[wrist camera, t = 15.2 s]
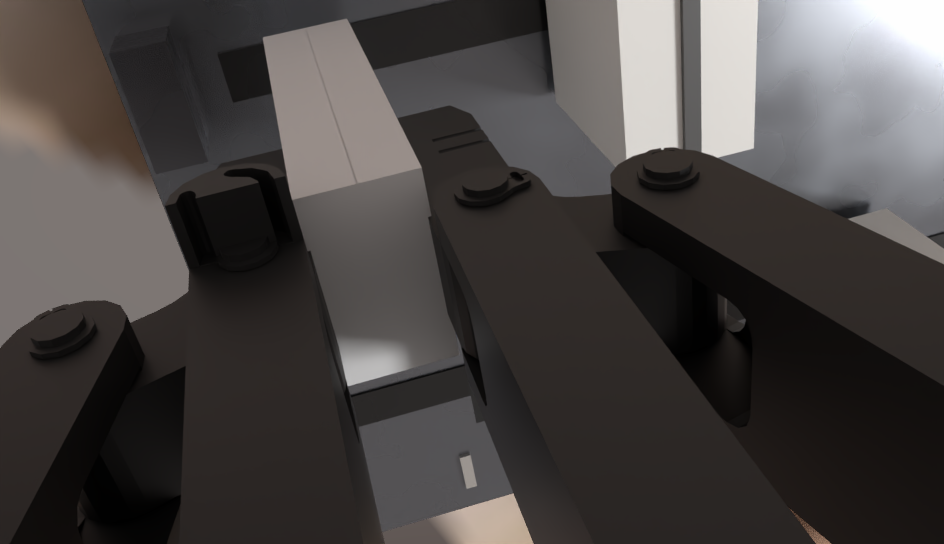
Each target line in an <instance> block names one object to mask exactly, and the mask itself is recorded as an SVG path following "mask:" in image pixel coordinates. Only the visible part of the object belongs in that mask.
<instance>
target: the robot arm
mask: <svg viewBox="0 0 944 544" xmlns="http://www.w3.org/2000/svg"><path fill="white" fill-rule="evenodd" d="M263 43H264V48H265V54H266V60H267V65H268V71H269V77H270V82H271V88H272V94H273V99H274V105H275V110H276V116H277V122H278V127H279V133H280V139H281V144H282V149H279V150H275V151H270V152H266V153H262V154H258V155H254V156H250V157H246V158H242V159H238V160H233V161H229V162H225V163H221V164H220V165H219V166H218V168H217V169H216V170H213V171H210V172H207V173H204V174H201V175H199V176H197V177H196V178H194V179H192V180H190V181H188V182H186V183H184V184H182V185H181V186H180V187H179V188H178V189H176V190H175V191H174V192H173V193H172V194H171V195H170V196H169V198H168V200H167V202H166V204H165V209H166V211H167V214H168V216H169V219H170V221H171V224H172V227H173V229H174V232H175V234H176V237H177V239H178V242H179V245H180V247H181V250H182V252H183V255H184V257H185V260H186V262H187V265H188V268H189V291H188V292H187V293H186V294H185V295H183V296H182V297H180V298H179V299H178V300H176V301H175V302H173V303H172V304H170V305H168V306H166V307H164V308H162V309H160V310H158V311H156V312H154V313H152V314H149V315H147V316H145V317H143V318H141V319H138V320H136V321H134V322H132V323H130V322H129V320H128V317H127V315H126V314H125V312H124V311H123V309H122V308H121V306H120V305H117V304H114V303H111V302H108V301H83V302H79V303H75V304H71V305H68V304H66V305H62V306H59V307H56V308H53V311H49V310H48V311H46V312H44V313H42V314H40V315H38V316H36V318H34V320H32V321H31V322H29V323H28V324H26V325H25V326H23V327H22V328H20V329H18V330H17V331H16V332H15V333H14V334H13V335H12V336H11V337H10V338H9V339H8V340H7V341H6V342H5V343H4V344H3V345H2V347H1V348H0V544H385V543H384V538H383V534H382V529H381V525H380V520H379V516H378V511H377V507H376V502H375V498H374V493H373V489H372V484H371V480H370V475H369V471H368V466H367V462H366V457H365V453H364V448H363V444H362V439H361V435H360V430H359V426H358V421H357V417H356V412H355V408H354V405H353V402H352V398H351V395H350V392H349V388H348V386H351V385H355V384H358V383H362V382H365V381H369V380H372V379H376V378H379V377H383V376H386V375H390V374H394V373H397V372H401V371H404V370H408V369H411V368H415V367H418V366H422V365H425V364H429V363H433V362H436V361H440V360H443V359H447V358H450V357H454V356H457V355H460V354H459V349H458V344H457V339H456V335H457V337H458V340H459V342H460V344H461V349H462V354H463V359H464V364H465V369H466V374H467V379H468V384H469V389H470V394H471V399H472V404H473V409H474V414H475V419H476V423H479V422H483V421H485V423H486V426H487V428H488V431H489V433H490V436H491V438H492V441H493V443H494V446H495V448H496V451H497V453H498V456H499V458H500V461H501V463H502V466H503V468H504V471H505V473H506V476H507V478H508V481H509V483H510V486H511V488H512V491H513V493H514V496H515V498H516V501H517V503H518V506H519V508H520V511H521V513H522V516H523V518H524V520H525V523H526V525H527V528H528V530H529V533H530V535H531V538H532V540H533V543H534V544H816V543H815V542H814V541H813V539H812V538H811V537H810V535H809V534H808V533H807V531H806V530H805V529H804V527H803V526H802V525H801V524H800V522H799V521H798V520H797V518H796V517H795V516H794V514H793V513H792V512H791V510H793V511H794V512H795V513H796V514H797V515H798V516H800V517H801V518H802V519H803V520H804V521H806V522H807V523H808V524H809V525H810V526H811V527H813V528H814V529H815V530H816V531H817V532H819V533H820V534H821V535H822V536H823V537H824V538H826V539H827V540H828V541H829V542H830V543H832V544H944V264H942V263H940V262H938V261H936V260H934V259H932V258H929V257H927V256H925V255H923V254H921V253H919V252H917V251H915V250H912V249H910V248H908V247H906V246H904V245H902V244H900V243H898V242H895V241H893V240H891V239H889V238H887V237H885V236H883V235H881V234H878V233H876V232H874V231H872V230H870V229H868V228H866V227H864V226H861V225H859V224H857V223H855V222H853V221H851V220H849V219H847V218H844V217H842V216H840V215H838V214H836V213H834V212H832V211H830V210H827V209H825V208H823V207H821V206H819V205H817V204H815V203H813V202H810V201H808V200H806V199H804V198H802V197H800V196H798V195H796V194H793V193H791V192H789V191H787V190H785V189H783V188H781V187H778V186H776V185H774V184H772V183H770V182H768V181H766V180H764V179H761V178H759V177H757V176H755V175H753V174H751V173H749V172H747V171H744V170H742V169H740V168H738V167H736V166H734V165H732V164H730V163H727V162H725V161H723V160H721V159H719V158H717V157H715V156H712V155H709V154H706V153H702V152H699V151H696V150H685V149H679V148H676V147H669V148H664V150H661V148H658V149H652V150H649V151H647V152H646V153H642V154H638V155H635V156H632V157H630V158H628V159H627V160H625V161H623V162H621V163H619V164H618V165H617V166H616V168H615V169H614V170H613V171H612V173H611V174H610V179H611V193H612V194H605V195H593V196H581V197H560V196H553V195H552V194H551V193H550V191H549V190H548V189H547V187H546V186H545V185H544V183H543V182H542V181H541V179H540V178H539V177H537V176H536V175H534V174H533V173H532V172H530V171H528V170H524V169H520V168H517V167H509V166H508V165H507V164H506V162H505V161H504V159H503V158H502V157H501V155H500V154H499V152H498V151H497V149H496V148H495V147H494V145H493V144H492V142H491V141H489V138H488V137H487V135H486V134H485V133H484V131H483V130H481V127H480V126H479V124H478V123H477V121H476V120H475V118H474V117H473V116H472V114H470V113H468V112H465V111H463V110H460V109H458V108H455V107H453V106H450V105H449V106H445V107H440V108H436V109H432V110H428V111H424V112H420V113H416V114H412V115H408V116H403V117H399V118H397V117H396V115H395V113H394V111H393V109H392V107H391V105H390V103H389V101H388V99H387V97H386V95H385V93H384V91H383V89H382V87H381V85H380V83H379V81H378V79H377V77H376V75H375V73H374V71H373V69H372V67H371V65H370V63H369V61H368V59H367V57H366V55H365V53H364V51H363V49H362V47H361V45H360V43H359V41H358V39H357V37H356V35H355V33H354V31H353V29H352V27H351V26H350V24H349V22H348V20H347V19H342V20H338V21H334V22H329V23H325V24H320V25H316V26H311V27H307V28H303V29H298V30H294V31H289V32H285V33H280V34H276V35H272V36H267V37H263ZM727 300H729V301H730V302H731V303H732V304H733V305H734V306H736V307H737V308H738V310H739V311H740V313H741V314H742V315H743V317H744V318H745V320H746V321H745V324H743V323H741V322H739V321H737V320H736V319H734V318H733V317H731V316H730V315H728V314H727ZM455 332H456V335H455ZM788 507H789V508H790V509H791V510H790V509H789V508H788Z"/></svg>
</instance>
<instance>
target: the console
mask: <svg viewBox="0 0 944 544" xmlns="http://www.w3.org/2000/svg"><path fill="white" fill-rule="evenodd" d="M82 1H83V4H84V6H85V9H86V12H87V14H88V17H89V19H90V22H91V24H92V27H93V29H94V32H95V34H96V37H97V39H98V42H99V44H100V47H101V49H102V52H103V55H104V57H105V60H106V62H107V65H108V67H109V70H110V72H111V75H112V77H113V80H114V82H115V85H116V87H117V90H118V92H119V95H120V98H121V100H122V103H123V105H124V108H125V110H126V113H127V115H128V118H129V120H130V123H131V125H132V128H133V130H134V133H135V135H136V138H137V141H138V143H139V146H140V148H141V151H142V153H143V156H144V158H145V161H146V163H147V166H148V168H149V171H150V173H151V176H152V178H153V181H154V183H155V186H156V189H157V191H158V194H159V196H160V199H161V201H162V204H163V206H164V209H165V204H166V202H167V200H168V198H169V196H170V195H171V194H172V193H173V192H174V191H175V190H176V189H178V188H179V187H180V186H181V185H182V184H184V183H186V182H188V181H190V180H192V179H194V178H196V177H197V176H199V175H201V174H204V173H207V172H210V171H213V170H216V169H217V168H218V166H219V165H220V164H221V163H225V162H229V161H233V160H238V159H242V158H246V157H250V156H254V155H258V154H262V153H266V152H270V151H275V150H279V149H282V144H281V139H280V133H279V127H278V122H277V116H276V110H275V105H274V99H273V94H272V88H271V82H270V77H269V71H268V65H267V60H266V54H265V48H264V43H263V37H267V36H272V35H276V34H280V33H285V32H289V31H294V30H298V29H303V28H307V27H311V26H316V25H320V24H325V23H329V22H334V21H338V20H342V19H347V20H348V22H349V24H350V26H351V27H352V29H353V31H354V33H355V35H356V37H357V39H358V41H359V43H360V45H361V47H362V49H363V51H364V53H365V55H366V57H367V59H368V61H369V63H370V65H371V67H372V69H373V71H374V73H375V75H376V77H377V79H378V81H379V83H380V85H381V87H382V89H383V91H384V93H385V95H386V97H387V99H388V101H389V103H390V105H391V107H392V109H393V111H394V113H395V115H396V117H397V118H399V117H403V116H408V115H412V114H416V113H420V112H424V111H428V110H432V109H436V108H440V107H445V106H449V105H450V106H453V107H455V108H458V109H460V110H463V111H465V112H468V113H470V114H472V116H473V117H474V118H475V120H476V121H477V123H478V124H479V126H480V127H481V130H483V131H484V133H485V134H486V135H487V137H488V138H489V141H491V142H492V144H493V145H494V147H495V148H496V149H497V151H498V152H499V154H500V155H501V157H502V158H503V159H504V161H505V162H506V164H507V165H508V166H509V167H517V168H520V169H524V170H528V171H530V172H532V173H533V174H534V175H536V176H537V177H539V178H540V179H541V181H542V182H543V183H544V185H545V186H546V187H547V189H548V190H549V191H550V193H551V194H552V195H553V196H560V197H581V196H593V195H605V194H612V193H611V179H610V174H611V173H612V171H613V170H614V169H615V168H616V167H615V166H614V165H613V164H612V163H611V162H610V161H609V160H608V158H607V157H606V156H605V155H604V154H603V153H602V152H601V151H600V150H599V149H598V148H597V146H596V145H595V144H594V143H593V142H592V141H591V140H590V139H589V138H588V137H587V135H586V134H585V133H584V132H583V131H582V130H581V129H580V128H579V127H578V126H577V124H576V123H575V122H574V121H573V120H572V119H571V118H570V117H569V116H568V115H567V113H566V112H565V111H564V110H563V109H562V108H561V107H560V106H559V105H558V104H557V103H556V97H555V87H554V78H553V68H552V59H551V49H550V40H549V30H548V21H547V11H546V2H545V0H82ZM718 158H719V159H721V160H723V161H725V162H727V163H730V164H732V165H734V166H736V167H738V168H740V169H742V170H744V171H747V172H749V173H751V174H753V175H755V176H757V177H759V178H761V179H764V180H766V181H768V182H770V183H772V184H774V185H776V186H778V187H781V188H783V189H785V190H787V191H789V192H791V193H793V194H796V195H798V196H800V197H802V198H804V199H806V200H808V201H810V202H813V203H815V204H817V205H819V206H821V207H823V208H825V209H827V210H830V211H832V212H834V213H836V214H838V215H840V216H842V217H844V218H847V219H849V218H853V217H856V216H860V215H864V214H867V213H871V212H875V211H879V210H882V209H886V208H887V209H888V210H890V211H891V212H893V213H894V214H895V215H897V216H898V217H900V218H901V219H902V220H904V221H905V222H907V223H908V224H909V225H911V226H912V227H914V228H915V229H917V230H918V231H919V232H921V233H922V234H924V235H925V236H926V237H928V238H929V239H931V240H932V241H933V242H935V243H936V244H938V245H939V246H940V247H942V248H943V249H944V0H758V18H757V54H756V89H755V124H754V149H750V150H746V151H742V152H738V153H734V154H730V155H726V156H722V157H718ZM165 211H166V209H165ZM166 214H167V211H166ZM167 216H168V214H167ZM168 219H169V216H168ZM169 221H170V219H169ZM170 224H171V221H170ZM171 226H172V224H171ZM172 229H173V227H172ZM173 231H174V229H173ZM174 234H175V232H174ZM175 237H176V234H175ZM176 239H177V237H176ZM177 242H178V239H177ZM178 244H179V242H178ZM179 246H180V245H179ZM180 249H181V247H180ZM181 252H182V250H181ZM182 254H183V252H182ZM183 257H184V255H183ZM184 259H185V257H184ZM185 262H186V260H185ZM186 264H187V262H186ZM187 267H188V265H187ZM188 269H189V268H188ZM727 314H728V315H730V316H731V317H733V318H734V319H736V320H737V321H739V322H741V323H743V324H745V321H746V320H745V318H744V317H743V315H742V314H741V313H740V311H739V310H738V308H737V307H736V306H734V305H733V304H732V303H731V302H730V301H729V300H727ZM455 335H456V332H455ZM456 339H457V344H458V349H459V354H460V355H457V356H454V357H450V358H447V359H443V360H440V361H436V362H433V363H429V364H425V365H422V366H418V367H415V368H411V369H408V370H404V371H401V372H397V373H394V374H390V375H386V376H383V377H379V378H376V379H372V380H369V381H365V382H362V383H358V384H355V385H351V386H348V388H349V392H350V395H351V398H352V402H353V405H354V408H355V412H356V417H357V421H358V426H359V430H360V435H361V439H362V444H363V448H364V453H365V457H366V462H367V466H368V471H369V475H370V480H371V484H372V489H373V493H374V498H375V502H376V507H377V511H378V516H379V520H380V525H381V529H382V532H383V531H387V530H390V529H394V528H397V527H401V526H404V525H407V524H411V523H414V522H418V521H421V520H424V519H427V518H431V517H434V516H438V515H441V514H445V513H448V512H451V511H455V510H458V509H462V508H465V507H468V506H472V505H475V504H478V503H482V502H485V501H489V500H492V499H495V498H499V497H502V496H505V495H509V494H512V493H513V491H512V488H511V486H510V483H509V481H508V478H507V476H506V473H505V471H504V468H503V466H502V463H501V461H500V458H499V456H498V453H497V451H496V448H495V446H494V443H493V441H492V438H491V436H490V433H489V431H488V428H487V426H486V423H485V421H483V422H479V423H476V419H475V414H474V409H473V404H472V399H471V394H470V389H469V384H468V379H467V374H466V369H465V364H464V359H463V354H462V349H461V344H460V342H459V340H458V337H457V335H456Z"/></svg>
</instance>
